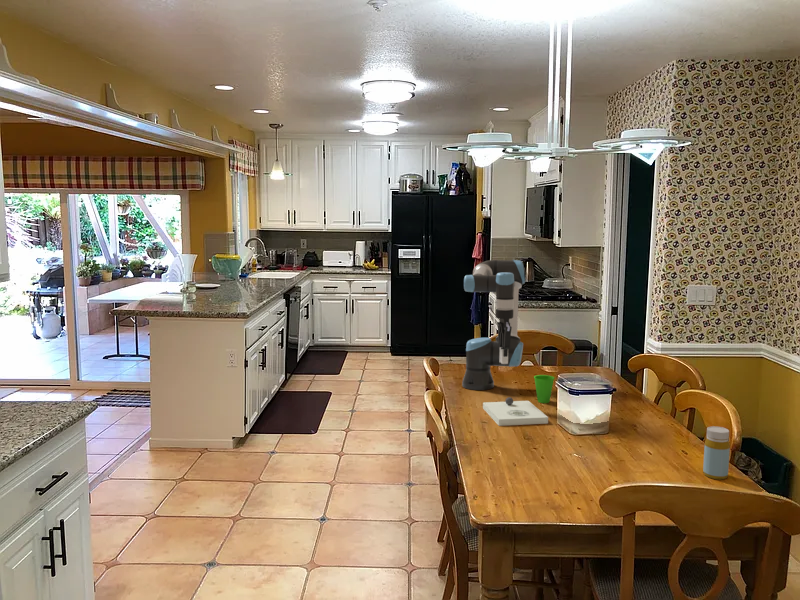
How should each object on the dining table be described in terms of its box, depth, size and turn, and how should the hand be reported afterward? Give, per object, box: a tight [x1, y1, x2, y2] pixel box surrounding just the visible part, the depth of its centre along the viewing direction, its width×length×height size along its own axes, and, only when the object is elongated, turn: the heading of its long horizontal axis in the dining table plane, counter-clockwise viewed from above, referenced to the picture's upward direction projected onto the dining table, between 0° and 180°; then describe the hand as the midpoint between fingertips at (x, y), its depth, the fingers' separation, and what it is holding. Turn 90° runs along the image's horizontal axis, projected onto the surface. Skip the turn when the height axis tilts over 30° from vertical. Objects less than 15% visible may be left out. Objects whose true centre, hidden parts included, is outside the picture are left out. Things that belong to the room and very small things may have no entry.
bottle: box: [702, 425, 731, 481], centre depth 202 cm, size 7×7×15 cm
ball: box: [505, 397, 514, 405], centre depth 273 cm, size 3×3×3 cm
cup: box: [533, 374, 556, 404], centre depth 286 cm, size 9×9×11 cm
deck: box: [482, 400, 549, 427], centre depth 266 cm, size 24×20×2 cm
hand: (503, 362), depth 280 cm, fingers open, 2 cm apart
